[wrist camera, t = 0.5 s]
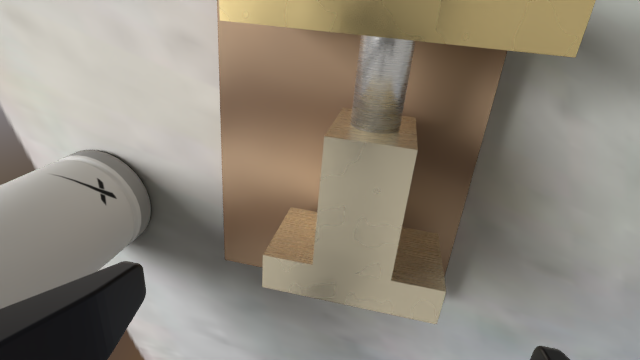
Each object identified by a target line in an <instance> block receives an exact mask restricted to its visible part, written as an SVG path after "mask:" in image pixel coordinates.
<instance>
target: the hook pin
mask: <svg viewBox="0 0 640 360" xmlns="http://www.w3.org/2000/svg"><path fill="white" fill-rule="evenodd" d="M414 46H415V41H412V40H403V39H393V38H383V37H374V36H364V35H361V40H360V48H359V57H358V65H357V73H356V82H355V90H354V98H353V107H352V109H350V108H342V110H341V111H340V113H339V114H338V116H337V118H336V119H335V121H334V122H333V124H332V125H331V127H330V128H329V130H328V131H327V133H326V134H325V136H324V145H323V156H322V167H321V178H320V189H319V199H318V210H317V212H314V211H308V210H303V209H297V208H292V207H291V208H290V210H289V211H288V213H287V215H286V217H285V218H284V220H283V222H282V223H281V225H280V227H279V228H278V230H277V232H276V234H275V235H274V237H273V239H272V240H271V242H270V244H269V245H268V247H267V249H266V251H265V252H264V254H263V272H262V287H265V288H269V289H274V290H279V291H283V292H288V293H293V294H297V295H302V296H307V297H311V298H316V299H321V300H325V301H330V302H335V303H339V304H344V305H349V306H353V307H358V308H363V309H367V310H372V311H377V312H381V313H386V314H391V315H395V316H400V317H405V318H409V319H414V320H419V321H423V322H428V323H433V324H437V322H438V318H439V315H440V311H441V308H442V304H443V301H444V297H445V294H446V287H445V280H444V272H443V265H442V257H441V249H440V242H439V234H437V233H432V232H426V231H420V230H415V229H409V228H404V227H402V224H403V219H404V214H405V210H406V205H407V200H408V195H409V190H410V185H411V180H412V175H413V170H414V166H415V161H416V156H417V151H418V147H417V132H416V117H409V116H402V114H403V108H404V102H405V97H406V91H407V86H408V80H409V74H410V69H411V63H412V58H413V52H414Z"/></svg>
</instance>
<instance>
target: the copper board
mask: <svg viewBox="0 0 640 360" xmlns="http://www.w3.org/2000/svg"><path fill="white" fill-rule="evenodd" d="M217 13H218V47H219V81H220V115H221V148H222V182H223V216H224V250H225V260H229V261H234V262H238V263H243V264H248V265H253V266H258V267H263V254H264V252H265V251H266V249H267V247H268V245H269V244H270V242H271V240H272V239H273V237H274V235H275V234H276V232H277V230H278V228H279V227H280V225H281V223H282V222H283V220H284V218H285V217H286V215H287V213H288V211H289V210H290V208H291V207H292V208H297V209H303V210H308V211H314V212H317V210H318V199H319V189H320V178H321V167H322V156H323V145H324V136H325V134H326V133H327V131H328V130H329V128H330V127H331V125H332V124H333V122H334V121H335V119H336V118H337V116H338V114H339V113H340V111H341V110H342V108H350V109H352V107H353V98H354V90H355V82H356V73H357V65H358V57H359V48H360V40H361V35H355V34H345V33H335V32H326V31H316V30H307V29H297V28H287V27H278V26H268V25H258V24H249V23H239V22H230V21H220V13H219V0H217ZM506 54H507V50H499V49H489V48H479V47H470V46H460V45H451V44H441V43H431V42H422V41H415V46H414V52H413V58H412V63H411V69H410V74H409V80H408V86H407V91H406V97H405V102H404V108H403V114H402V116H409V117H416V132H417V147H418V151H417V156H416V161H415V166H414V170H413V175H412V180H411V185H410V190H409V195H408V200H407V205H406V210H405V214H404V219H403V224H402V227H404V228H409V229H415V230H420V231H426V232H432V233H437V234H439V242H440V249H441V257H442V265H443V272H444V276H445V273H446V269H447V266H448V262H449V258H450V255H451V251H452V248H453V244H454V240H455V237H456V233H457V230H458V226H459V222H460V219H461V215H462V212H463V208H464V205H465V201H466V197H467V194H468V190H469V187H470V183H471V179H472V176H473V172H474V169H475V165H476V161H477V158H478V154H479V151H480V147H481V143H482V140H483V136H484V133H485V129H486V126H487V122H488V118H489V115H490V111H491V108H492V104H493V100H494V97H495V93H496V90H497V86H498V82H499V79H500V75H501V72H502V68H503V64H504V61H505V57H506Z"/></svg>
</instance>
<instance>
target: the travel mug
mask: <svg viewBox="0 0 640 360" xmlns="http://www.w3.org/2000/svg"><path fill="white" fill-rule="evenodd" d="M150 216H151V205H150V199H149V196H148V193H147V191H146V188H145V187H144V185H143V183H142V181H141V180H140V178H139V177H138V176H137V175H136V173H135V172H134V171H133V170H132V169H131V168H130V167H129V166H128V165H126V164H125V163H124V162H122V161H121V160H119V159H118V158H116V157H114V156H112V155H110V154H107V153H104V152H101V151H95V150H83V151H79V152H76V153H74V154H71V155H69V156H67V157H64V158H62V159H60V160H58V161H56V162H53V163H51V164H48V165H46V166H44V167H42V168H39V169H37V170H35V171H32V172H30V173H28V174H26V175H23V176H21V177H19V178H16V179H14V180H12V181H9V182H7V183H5V184H3V185H0V309H1V308H4V307H6V306H9V305H12V304H14V303H17V302H19V301H22V300H25V299H27V298H30V297H32V296H35V295H37V294H40V293H43V292H45V291H48V290H50V289H53V288H56V287H58V286H61V285H63V284H66V283H69V282H71V281H74V280H76V279H79V278H82V277H84V276H87V275H89V274H92V273H94V272H97V271H98V270H99V269H100V268H102V267H103V266H104V265H105V264H106V263H108V262H109V261H110V260H111V259H112V258H113V257H115V256H116V255H117V254H118V253H119V252H120V251H122V250H123V249H124V248H125V247H126V246H127V245H129V244H130V243H131V242H132V241H133V240H135V239H136V238H137V237H138V236H139V235H140V234H141V233H142V232H144V231H145V229H146V227H147V226H148V224H149V220H150Z"/></svg>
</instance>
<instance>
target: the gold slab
mask: <svg viewBox="0 0 640 360" xmlns="http://www.w3.org/2000/svg"><path fill="white" fill-rule="evenodd" d="M595 1H596V0H219V13H220V21H230V22H239V23H249V24H258V25H268V26H278V27H287V28H297V29H307V30H316V31H326V32H335V33H345V34H355V35H364V36H374V37H383V38H393V39H403V40H412V41H422V42H431V43H441V44H451V45H460V46H470V47H479V48H489V49H499V50H508V51H518V52H527V53H537V54H547V55H556V56H566V57H576V55H577V52H578V49H579V46H580V44H581V41H582V38H583V35H584V32H585V29H586V27H587V24H588V21H589V18H590V15H591V12H592V10H593V7H594V4H595Z"/></svg>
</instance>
